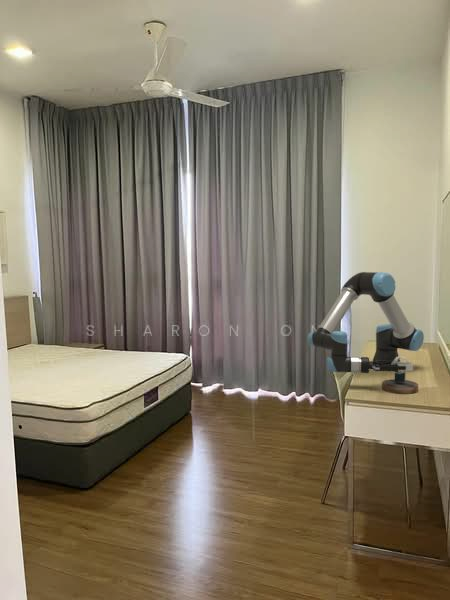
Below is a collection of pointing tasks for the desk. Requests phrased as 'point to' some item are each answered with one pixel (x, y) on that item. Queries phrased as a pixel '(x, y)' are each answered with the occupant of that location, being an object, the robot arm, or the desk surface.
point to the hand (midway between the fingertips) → (412, 366)
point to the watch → (399, 375)
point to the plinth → (400, 386)
